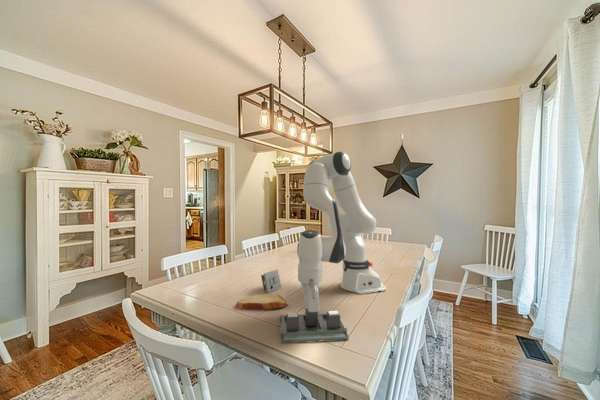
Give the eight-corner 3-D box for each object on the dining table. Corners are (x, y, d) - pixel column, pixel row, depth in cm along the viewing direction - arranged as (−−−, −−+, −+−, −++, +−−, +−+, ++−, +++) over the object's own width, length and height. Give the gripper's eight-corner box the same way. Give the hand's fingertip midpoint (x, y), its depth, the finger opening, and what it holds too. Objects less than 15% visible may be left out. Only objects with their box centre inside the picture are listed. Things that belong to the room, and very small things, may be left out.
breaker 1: (298, 327, 83) (298, 311, 83) (298, 332, 80) (299, 315, 80) (286, 328, 82) (286, 312, 82) (286, 332, 80) (286, 316, 80)
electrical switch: (268, 293, 115) (266, 274, 115) (260, 292, 118) (259, 273, 119) (281, 288, 122) (280, 269, 123) (274, 286, 126) (273, 268, 126)
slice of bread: (231, 306, 102) (231, 298, 102) (264, 294, 116) (264, 286, 116) (258, 321, 90) (259, 311, 90) (291, 305, 104) (291, 296, 104)
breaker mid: (316, 321, 87) (316, 306, 87) (317, 325, 84) (317, 309, 84) (305, 321, 87) (305, 306, 87) (306, 325, 84) (306, 310, 84)
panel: (336, 316, 94) (336, 310, 94) (348, 339, 79) (348, 332, 79) (280, 319, 91) (280, 313, 91) (280, 343, 76) (280, 335, 76)
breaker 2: (337, 325, 84) (338, 310, 84) (340, 330, 81) (340, 314, 81) (326, 326, 84) (326, 310, 84) (328, 330, 81) (328, 314, 81)
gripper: (323, 285, 79) (323, 327, 79) (314, 267, 99) (313, 300, 99) (304, 286, 78) (304, 328, 78) (298, 267, 98) (298, 301, 99)
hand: (309, 312), depth 89 cm, fingers closed
